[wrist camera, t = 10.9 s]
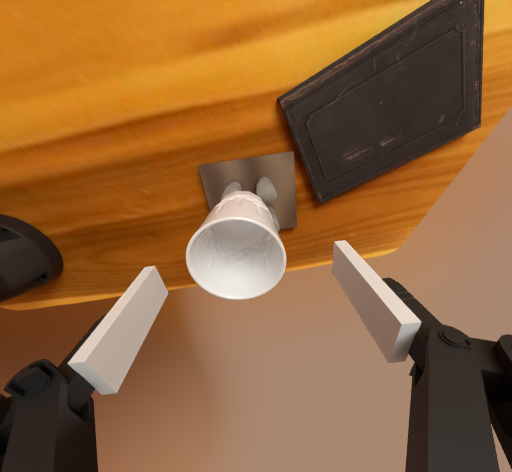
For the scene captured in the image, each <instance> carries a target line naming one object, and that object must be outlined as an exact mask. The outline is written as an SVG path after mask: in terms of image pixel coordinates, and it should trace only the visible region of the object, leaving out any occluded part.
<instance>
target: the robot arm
mask: <svg viewBox="0 0 512 472" xmlns="http://www.w3.org/2000/svg"><path fill="white" fill-rule="evenodd" d="M62 266H63V265H62V259H61V256H60V254H59V252H58V250H57V248H56V247H55V246H54V244H53V243H52V242H51V241H50V240H49V239H48V238H47V237H46V236H45V235H44V234H42V233H41V232H40V231H38V230H37V229H35V228H34V227H32V226H31V225H29V224H27V223H25V222H23V221H21V220H18V219H16V218H13V217H10V216H6V215H2V214H0V303H2V302H4V301H7V300H9V299H12V298H15V297H17V296H20V295H22V294H25V293H28V292H30V291H33V290H36V289H38V288H41V287H43V286H45V285H47V284H48V283H49V282H51V281H52V280H54V279H55V278H56V277H58V276H59V274H60V273H61V271H62ZM332 273H333V274H334V276H335V277H336V279H337V281H338V282H339V284H340V285H341V287H342V289H343V290H344V292H345V293H346V295H347V296H348V298H349V300H350V302H351V303H352V305H353V307H354V308H355V310H356V311H357V313H358V315H359V316H360V318H361V320H362V321H363V323H364V324H365V326H366V327H367V329H368V331H369V332H370V334H371V336H372V337H373V339H374V340H375V342H376V344H377V345H378V347H379V349H380V350H381V352H382V353H383V355H384V357H385V358H386V360H387V362H388V363H393V362H402V361H405V360H406V358H407V356H408V354H409V355H410V356H411V358H412V359H413V360H414V362H415V363H414V365H413V367H412V369H411V371H410V374H409V375H411V376H412V389H411V403H410V416H409V430H408V445H407V457H406V471H405V472H500V470H499V465H498V460H497V454H496V450H495V444H494V438H493V433H492V428H491V424H492V426H493V429H494V431H495V433H496V435H497V438H498V440H499V442H500V444H501V446H502V449H503V451H504V453H505V455H506V458H507V460H508V462H509V464H510V466H511V469H512V335H508V334H507V335H503V336H501V337H500V338H499V340H498V341H497V342H494V341H488V340H482V339H476V338H470V337H468V336H467V335H465V334H464V333H463V332H461V331H460V330H457V329H455V328H453V327H450V326H446V325H443V324H441V323H440V322H439V321H438V320H437V319H436V318H435V317H434V316H433V315H432V314H431V313H430V312H429V311H428V310H427V309H426V308H425V307H424V306H423V305H422V304H420V302H418V301H417V300H416V299H414V297H413V296H412V295H411V294H410V293H409V292H408V291H407V290H406V289H405V288H404V287H403V286H402V285H401V284H400V283H398V282H396V281H395V280H393V279H391V278H384V279H381V278H380V277H379V276H378V275H377V274H376V273H375V272H374V271H373V269H371V267H370V266H369V265H368V264H367V263H366V262H365V261H364V260H363V259H362V258H361V257H360V256H359V255H358V253H357V252H356V251H355V250H354V249H353V248H352V247H351V246H350V245H349V244H348V243H347V242H346V241H345V240H343V241H336V242H334V253H333V268H332ZM167 295H168V291H167V289H166V287H165V285H164V283H163V281H162V279H161V277H160V275H159V273H158V271H157V269H156V267H155V266H151V267H145V268H144V269H143V270H142V272H141V273H140V274H139V275H138V277H137V278H136V279H135V280H134V282H133V283H132V284H131V285H130V286H129V288H128V289H127V290H126V291H125V293H124V294H123V295H122V296H121V298H120V299H119V300H118V301H117V303H116V304H115V305H114V306H113V308H112V309H111V310H110V311H109V313H108V314H105V315H104V316H102V317H101V318H100V319H99V320H98V321H96V322H95V323H94V325H93V326H92V327H91V328H90V330H89V331H88V333H86V334H85V336H84V337H83V338H82V340H80V341H79V343H78V344H77V345H76V346H75V347H74V349H73V350H72V351H71V352H70V354H69V355H68V356H67V357H66V358H65V359H64V361H63V362H62V363H61V364H60V365H59V367H58V368H57V367H56V366H55V365H54V364H52V363H51V362H50V361H49V360H47V359H41V360H37V361H35V362H33V363H31V364H29V365H28V366H26V367H25V368H23V369H22V370H20V371H19V372H18V373H17V374H16V375H15V376H13V377H12V379H11V380H10V381H9V382H8V383H7V385H6V386H5V388H4V391H6V392H8V393H9V394H11V395H12V396H10V397H8V398H7V397H5V396H4V395H2V394H0V472H98V464H97V448H96V433H95V418H94V402H93V399H92V397H91V394H92V393H93V391H94V390H95V389H96V390H97V391H98V392H99V393H100V394H101V395H103V394H113V393H117V391H118V389H119V387H120V385H121V384H122V381H123V380H124V378H125V376H126V374H127V372H128V370H129V368H130V366H131V364H132V362H133V360H134V359H135V357H136V354H137V353H138V351H139V349H140V347H141V345H142V343H143V341H144V339H145V337H146V335H147V333H148V332H149V330H150V328H151V326H152V324H153V322H154V320H155V318H156V316H157V314H158V312H159V310H160V308H161V307H162V305H163V303H164V301H165V299H166V297H167Z"/></svg>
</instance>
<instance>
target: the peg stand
mask: <svg viewBox="0 0 512 472" xmlns="http://www.w3.org/2000/svg"><path fill="white" fill-rule="evenodd" d="M198 168H199V171H200V175H201V179H202V183H203V186H204V190H205V194H206V197H207V201H208V205H209V209H210V212H211V211H212V210H213V209H214V207H215V206H216V205H217V204H218V203H219V202H220V201H221V200H222V199H223V197H224V196H226V195H228V194H230V193H233V192H235V191H249V192H251V193H253V194H255V195H257V196H259V197H261V199H262V200H263V201H264V203H265V204H266V206H267V207H268V210H269V212H270V213H271V215H272V218H273V220H274V222H275V225H276V228H277V230H278V232H279V230H280V229H288V228H295V227H297V216H296V191H295V166H294V152H293V151H289V152H282V153H276V154H269V155H263V156H256V157H250V158H243V159H236V160H230V161H223V162H217V163H210V164H204V165H200V166H198Z"/></svg>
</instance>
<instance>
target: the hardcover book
mask: <svg viewBox="0 0 512 472" xmlns="http://www.w3.org/2000/svg"><path fill="white" fill-rule="evenodd" d="M483 28H484V0H431V1H429V2H427V3H426V4H424V5H423V6H421V7H420V8H418V9H416V10H415V11H413V12H412V13H410V14H409V15H407V16H405V17H404V18H402V19H401V20H399V21H398V22H396V23H395V24H393V25H391V26H390V27H388V28H387V29H385V30H384V31H382V32H380V33H379V34H377V35H376V36H374V37H373V38H371V39H369V40H368V41H366V42H365V43H363V44H362V45H360V46H359V47H357V48H355V49H354V50H352V51H351V52H349V53H348V54H346V55H344V56H343V57H341V58H340V59H338V60H337V61H335V62H333V63H332V64H330V65H329V66H327V67H326V68H324V69H323V70H321V71H319V72H318V73H316V74H315V75H313V76H312V77H310V78H308V79H307V80H305V81H304V82H302V83H301V84H299V85H297V86H296V87H294V88H293V89H291V90H290V91H288V92H287V93H285V94H283V95H282V96H280V97H279V98H277V101H279V102H280V105H281V107H282V110H283V112H284V115H285V118H286V120H287V123H288V125H289V128H290V130H291V133H292V136H293V138H294V141H295V143H296V146H297V148H298V151H299V153H300V156H301V159H302V161H303V164H304V166H305V169H306V171H307V174H308V176H309V179H310V182H311V184H312V187H313V189H314V192H315V194H316V197H317V199H318V202H319V204H322V203H324V202H326V201H328V200H330V199H332V198H334V197H336V196H339V195H341V194H343V193H345V192H347V191H349V190H351V189H353V188H355V187H357V186H359V185H361V184H363V183H365V182H368V181H370V180H372V179H374V178H376V177H378V176H380V175H382V174H384V173H386V172H388V171H390V170H392V169H394V168H397V167H399V166H401V165H403V164H405V163H407V162H409V161H411V160H413V159H415V158H417V157H419V156H421V155H423V154H426V153H428V152H430V151H432V150H434V149H436V148H438V147H440V146H442V145H444V144H446V143H448V142H450V141H452V140H455V139H457V138H459V137H461V136H463V135H465V134H467V133H469V132H471V131H473V130H475V129H477V128H479V127H481V99H482V64H483Z"/></svg>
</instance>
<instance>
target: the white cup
mask: <svg viewBox="0 0 512 472" xmlns="http://www.w3.org/2000/svg"><path fill="white" fill-rule="evenodd" d="M186 264H187V268H188V270H189V273H190V275H191V276H192V278H193V279H194V280H195V282H196V283H197V284H198V285H199V286H200V287H202V288H203V289H204V290H206V291H207V292H209V293H211V294H213V295H215V296H218V297H221V298H225V299H231V300H244V299H251V298H254V297H257V296H260V295H262V294H264V293H266V292H268V291H269V290H271V289H272V288H273V287H274V286H275V285H276V284H277V283H278V282H279V281H280V279H281V277H282V276H283V273H284V271H285V267H286V253H285V249H284V246H283V244H282V241H281V238H280V236H279V233H278V230H277V228H276V225H275V222H274V220H273V218H272V215H271V213H270V212H269V210H268V207H267V206H266V204H265V203H264V201H263V200H262V199H261V197H259V196H257V195H255V194H253V193H251V192H249V191H235V192H233V193H230V194H228V195H226V196H224V197H223V199H222V200H221V201H220V202H219V203H218V204H217V205H216V206H215V207H214V209H213V210H212V211H211V212H210V213H209V215H208V216H207V218H206V219H205V220H204V222H203V223H202V224H201V226H200V227H199V229H198V230H197V231H196V233H195V234H194V235H193V237H192V238H191V240H190V242H189V244H188V247H187V250H186Z"/></svg>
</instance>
